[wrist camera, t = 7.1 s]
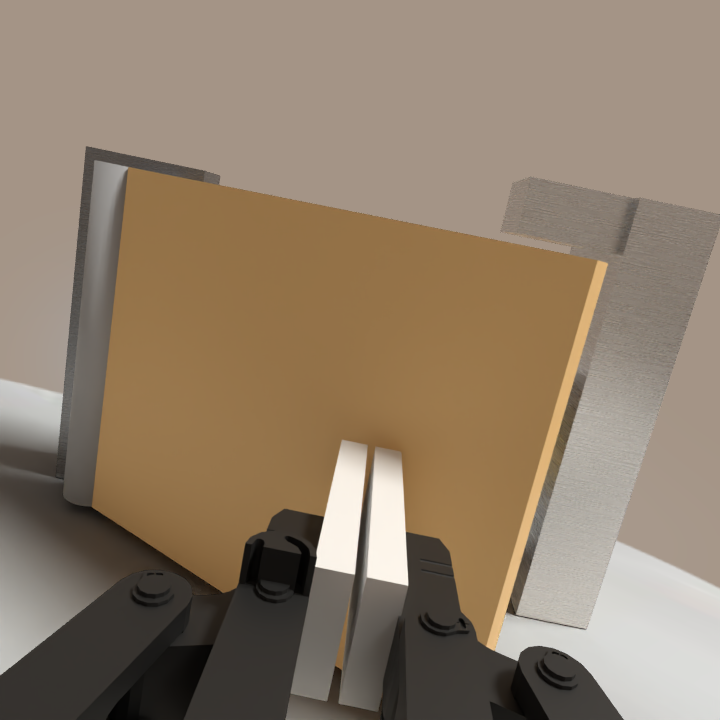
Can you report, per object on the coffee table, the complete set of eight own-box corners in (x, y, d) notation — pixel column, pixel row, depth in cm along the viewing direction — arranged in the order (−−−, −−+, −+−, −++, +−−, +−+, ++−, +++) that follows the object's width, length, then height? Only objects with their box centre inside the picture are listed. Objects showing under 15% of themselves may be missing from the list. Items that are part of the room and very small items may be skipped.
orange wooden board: (51, 489, 26) (81, 157, 23) (100, 475, 28) (134, 168, 25) (451, 755, 17) (594, 259, 14) (480, 705, 19) (610, 264, 16)
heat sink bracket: (8, 513, 24) (41, 72, 21) (101, 441, 32) (137, 116, 29) (586, 629, 25) (723, 215, 21) (535, 529, 33) (627, 218, 29)
